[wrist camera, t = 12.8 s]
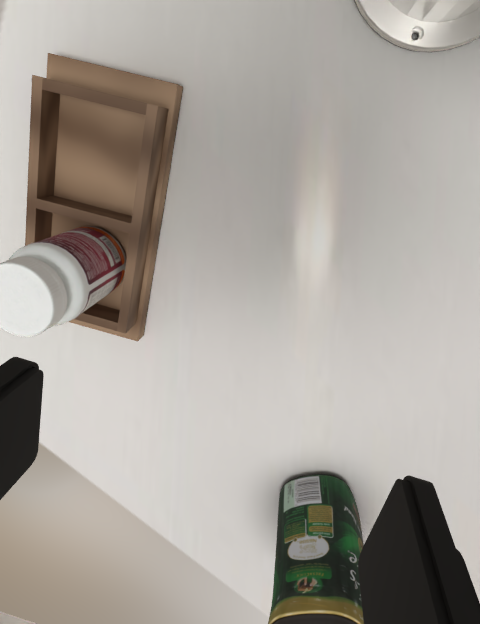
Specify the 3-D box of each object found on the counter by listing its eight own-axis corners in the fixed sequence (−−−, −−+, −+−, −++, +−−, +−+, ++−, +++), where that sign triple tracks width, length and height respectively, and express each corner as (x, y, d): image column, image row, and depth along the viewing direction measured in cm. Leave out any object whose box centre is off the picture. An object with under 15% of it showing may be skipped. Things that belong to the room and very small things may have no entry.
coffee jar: (367, 537, 47) (399, 764, 29) (295, 544, 48) (285, 761, 31) (348, 464, 44) (371, 667, 27) (272, 474, 46) (247, 670, 28)
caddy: (58, 56, 35) (28, 45, 31) (183, 87, 34) (167, 79, 30) (43, 306, 43) (17, 321, 39) (143, 334, 42) (127, 352, 39)
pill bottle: (63, 219, 38) (-33, 245, 27) (130, 231, 37) (59, 263, 27) (63, 286, 40) (-25, 334, 30) (127, 298, 40) (60, 352, 29)
